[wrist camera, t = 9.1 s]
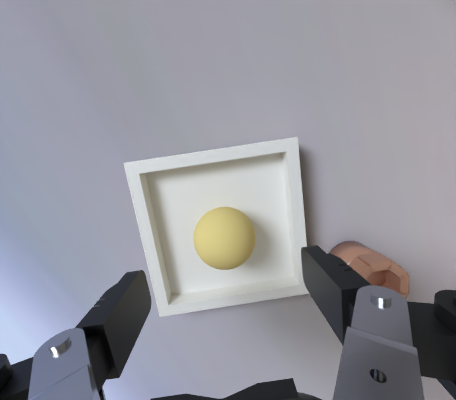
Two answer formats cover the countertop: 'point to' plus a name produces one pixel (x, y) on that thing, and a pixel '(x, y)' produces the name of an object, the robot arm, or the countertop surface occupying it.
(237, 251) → the ball
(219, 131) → the countertop surface
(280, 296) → the tray
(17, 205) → the countertop surface
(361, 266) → the cup
